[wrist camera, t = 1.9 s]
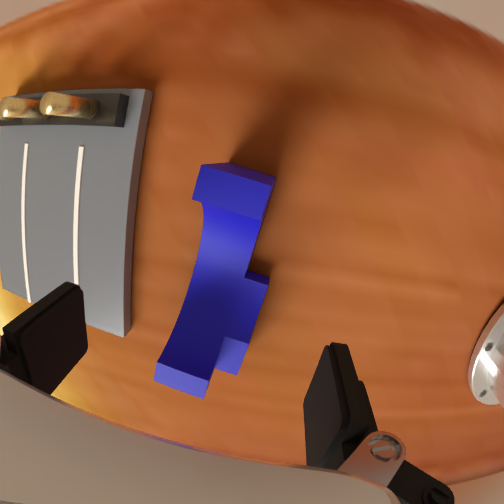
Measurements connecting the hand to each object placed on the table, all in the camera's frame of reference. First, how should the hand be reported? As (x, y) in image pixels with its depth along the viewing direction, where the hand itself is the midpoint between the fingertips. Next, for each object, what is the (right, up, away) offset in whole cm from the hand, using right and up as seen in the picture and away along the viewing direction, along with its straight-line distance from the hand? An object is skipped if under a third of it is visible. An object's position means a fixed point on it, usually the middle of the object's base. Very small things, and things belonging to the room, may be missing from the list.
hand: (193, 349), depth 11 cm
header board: (-12, +7, +9) cm, 17 cm away
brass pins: (-11, +13, +6) cm, 18 cm away
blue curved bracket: (+1, +3, +9) cm, 10 cm away
